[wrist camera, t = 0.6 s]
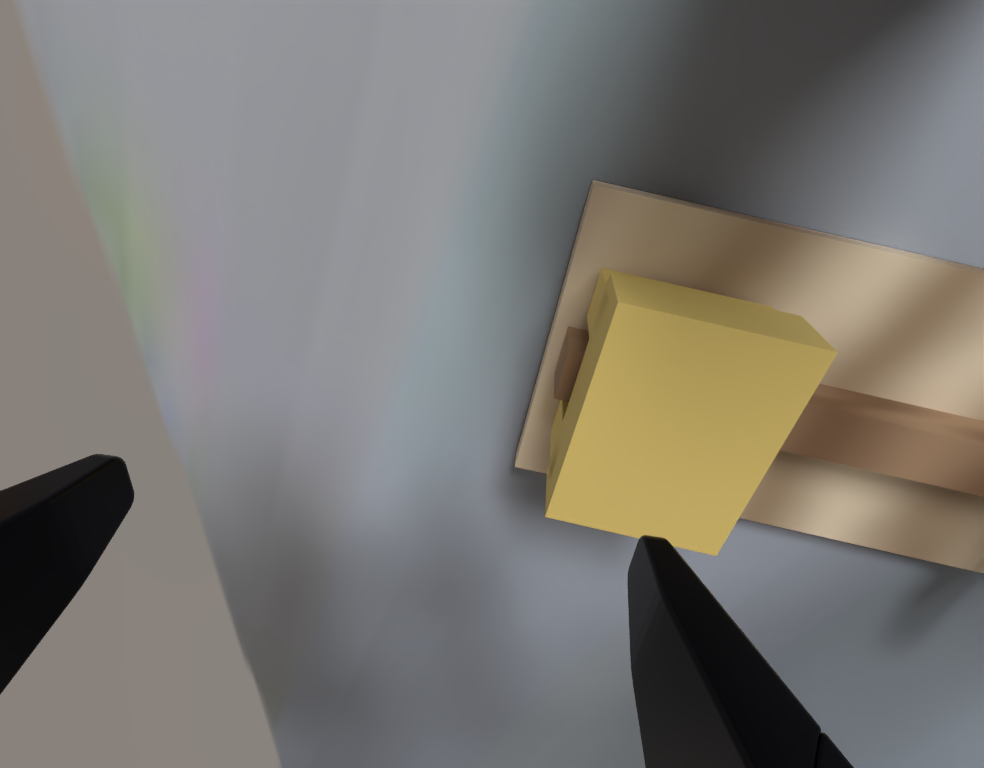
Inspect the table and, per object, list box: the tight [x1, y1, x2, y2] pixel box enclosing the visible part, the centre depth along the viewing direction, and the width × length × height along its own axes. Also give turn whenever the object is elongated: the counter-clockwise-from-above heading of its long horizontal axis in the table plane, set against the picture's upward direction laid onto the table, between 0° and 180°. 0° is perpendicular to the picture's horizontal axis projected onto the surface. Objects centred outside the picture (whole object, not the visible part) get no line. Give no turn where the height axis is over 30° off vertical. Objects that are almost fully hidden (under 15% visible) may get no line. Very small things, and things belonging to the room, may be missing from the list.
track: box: [515, 180, 984, 574], centre depth 19 cm, size 23×12×6 cm, turn 79°
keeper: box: [545, 268, 838, 556], centre depth 18 cm, size 6×8×4 cm
